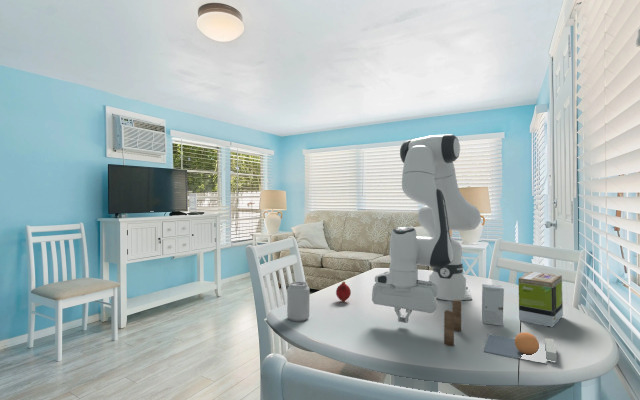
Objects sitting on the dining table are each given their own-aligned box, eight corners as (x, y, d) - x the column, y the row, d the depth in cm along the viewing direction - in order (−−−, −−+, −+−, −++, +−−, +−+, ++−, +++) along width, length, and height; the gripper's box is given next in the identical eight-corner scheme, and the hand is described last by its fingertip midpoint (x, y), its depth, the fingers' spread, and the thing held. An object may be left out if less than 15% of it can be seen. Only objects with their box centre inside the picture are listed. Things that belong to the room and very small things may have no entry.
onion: (349, 304, 136) (349, 283, 136) (335, 303, 137) (335, 282, 137) (351, 300, 141) (351, 280, 141) (337, 299, 142) (337, 279, 142)
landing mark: (488, 334, 105) (488, 334, 105) (544, 344, 98) (544, 344, 98) (484, 351, 93) (484, 351, 93) (547, 364, 86) (547, 363, 86)
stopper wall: (544, 347, 96) (544, 338, 96) (553, 348, 95) (553, 339, 95) (546, 361, 87) (546, 351, 87) (556, 363, 86) (556, 353, 86)
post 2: (453, 327, 110) (453, 299, 110) (461, 329, 109) (461, 300, 109) (451, 330, 108) (451, 301, 108) (460, 332, 107) (460, 302, 107)
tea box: (530, 311, 128) (530, 270, 128) (563, 317, 121) (563, 275, 121) (517, 320, 118) (518, 276, 118) (552, 328, 111) (553, 281, 111)
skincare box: (483, 324, 114) (483, 286, 114) (481, 319, 118) (481, 283, 119) (504, 326, 112) (504, 288, 112) (501, 321, 117) (501, 285, 117)
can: (312, 316, 121) (312, 281, 121) (304, 323, 114) (304, 286, 114) (292, 313, 123) (292, 279, 123) (283, 320, 116) (283, 284, 116)
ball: (509, 338, 96) (522, 324, 94) (529, 352, 94) (542, 338, 92) (510, 348, 91) (524, 334, 89) (530, 363, 89) (545, 349, 87)
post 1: (445, 341, 100) (445, 309, 100) (454, 343, 98) (454, 311, 98) (443, 344, 97) (443, 312, 97) (453, 346, 96) (453, 313, 96)
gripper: (439, 280, 108) (439, 325, 108) (377, 273, 119) (376, 314, 119) (434, 284, 103) (434, 331, 103) (370, 276, 113) (369, 319, 113)
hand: (403, 322), depth 111 cm, fingers closed
